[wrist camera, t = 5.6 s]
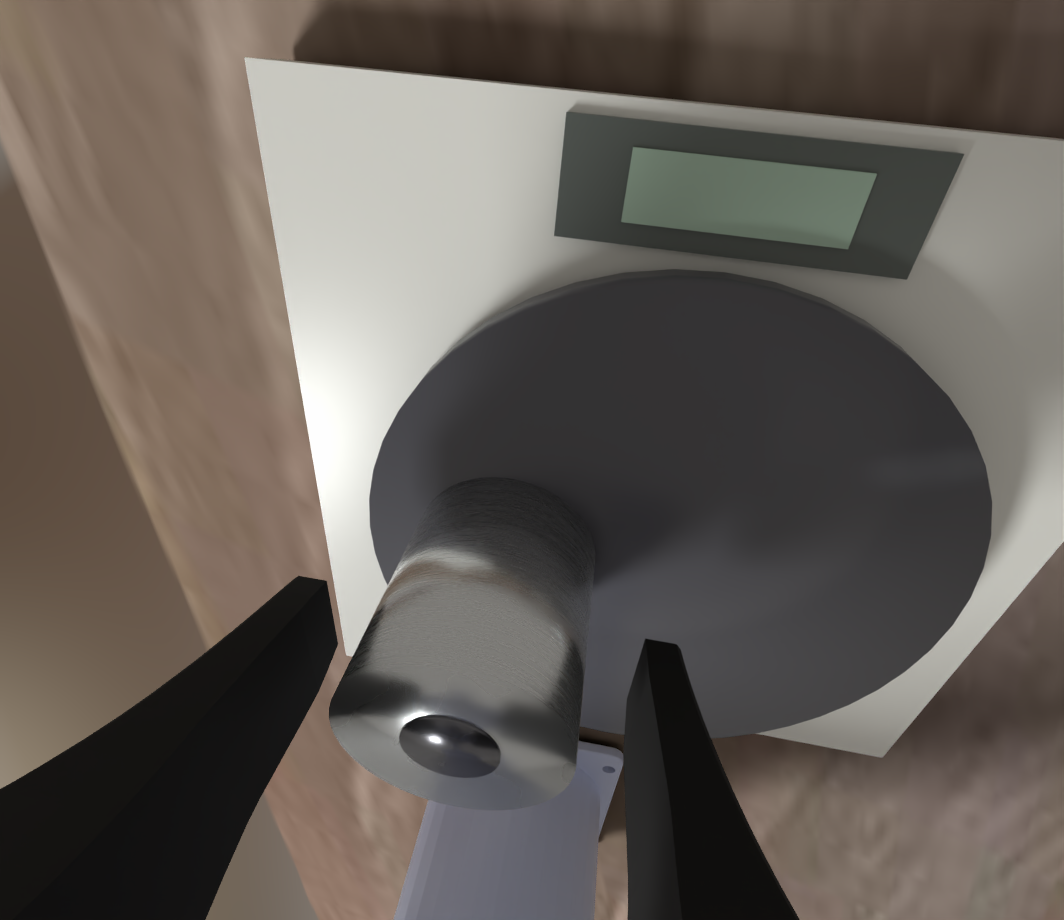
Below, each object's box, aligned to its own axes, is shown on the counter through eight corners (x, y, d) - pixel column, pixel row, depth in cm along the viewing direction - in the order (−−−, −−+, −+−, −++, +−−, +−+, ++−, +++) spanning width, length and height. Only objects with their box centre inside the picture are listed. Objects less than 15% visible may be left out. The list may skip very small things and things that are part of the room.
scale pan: (828, 750, 18) (835, 776, 17) (396, 668, 19) (387, 689, 18) (1136, 323, 10) (1172, 341, 9) (356, 225, 11) (337, 235, 10)
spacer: (588, 621, 15) (568, 830, 11) (427, 598, 15) (348, 790, 11) (603, 488, 12) (585, 695, 8) (411, 467, 13) (304, 651, 9)
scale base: (869, 723, 19) (886, 770, 18) (360, 627, 21) (341, 665, 19) (1296, 163, 10) (1401, 176, 8) (279, 59, 11) (231, 56, 10)
